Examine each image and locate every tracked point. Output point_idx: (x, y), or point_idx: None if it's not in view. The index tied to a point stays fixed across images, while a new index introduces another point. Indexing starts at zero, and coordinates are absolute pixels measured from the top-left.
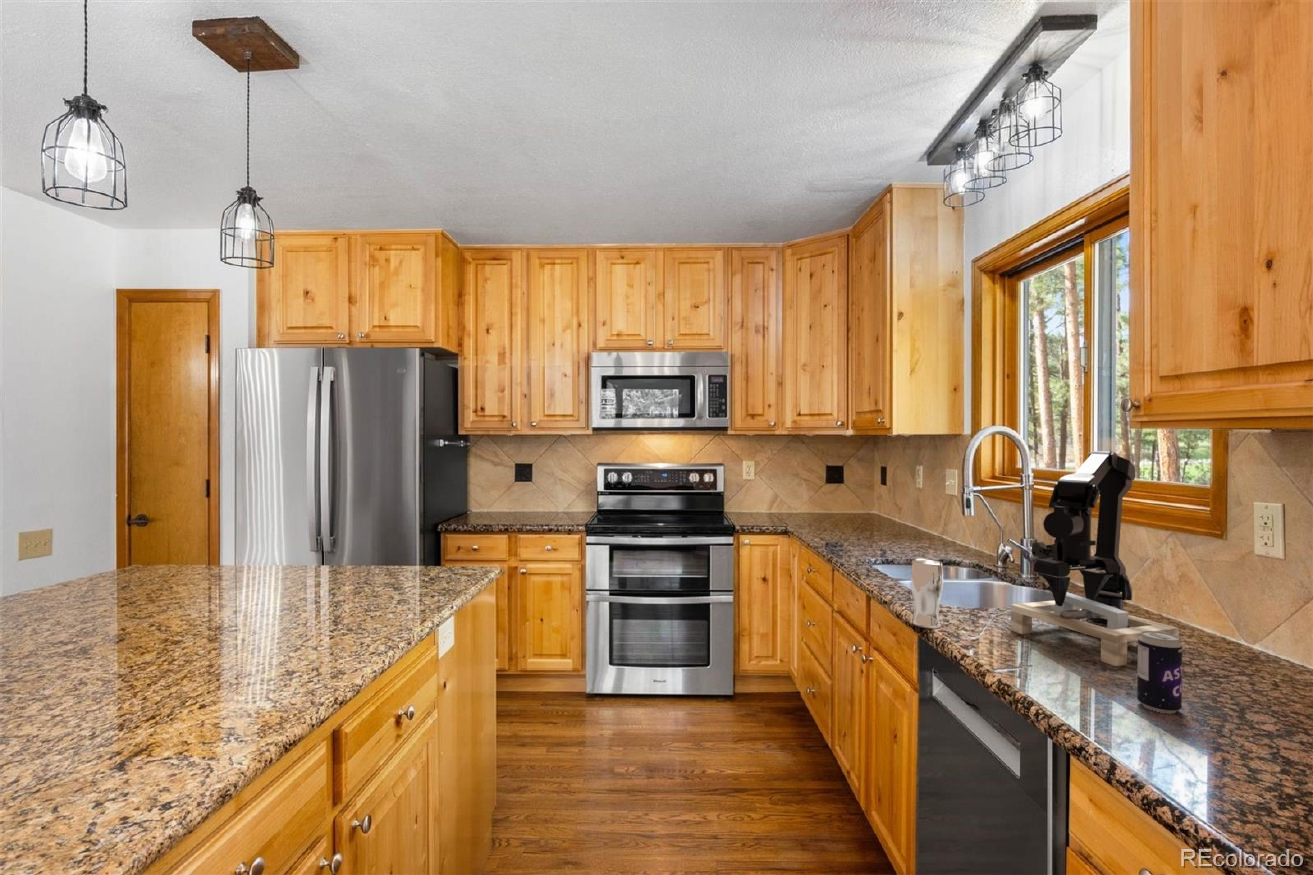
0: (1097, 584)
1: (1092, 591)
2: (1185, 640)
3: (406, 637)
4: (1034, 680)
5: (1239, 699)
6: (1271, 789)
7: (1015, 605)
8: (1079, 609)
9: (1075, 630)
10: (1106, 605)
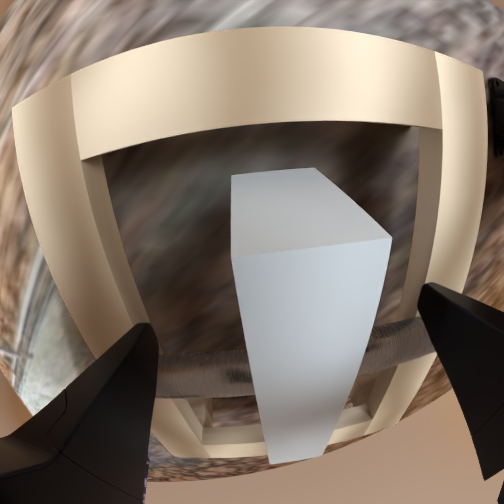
0: (474, 416)
1: (457, 362)
2: (496, 283)
3: None
4: (29, 384)
5: (251, 458)
6: None
7: (17, 130)
8: (219, 392)
9: None
10: (327, 433)
